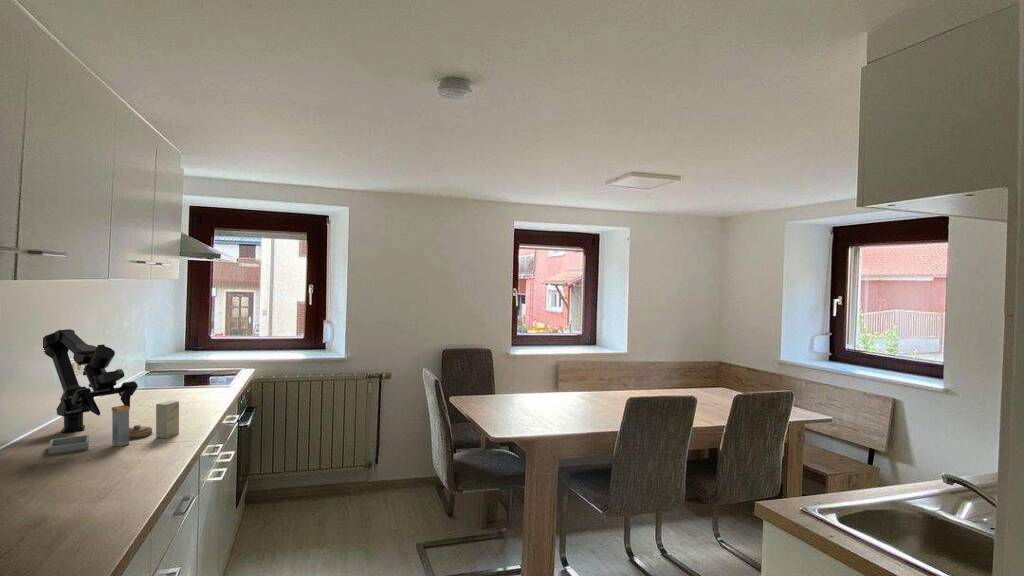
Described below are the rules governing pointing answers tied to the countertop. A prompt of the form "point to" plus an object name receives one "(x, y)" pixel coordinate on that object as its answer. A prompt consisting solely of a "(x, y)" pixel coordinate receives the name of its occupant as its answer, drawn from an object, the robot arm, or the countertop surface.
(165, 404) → the skincare box
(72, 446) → the tray
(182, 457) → the countertop surface
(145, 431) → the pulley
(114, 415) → the pin
